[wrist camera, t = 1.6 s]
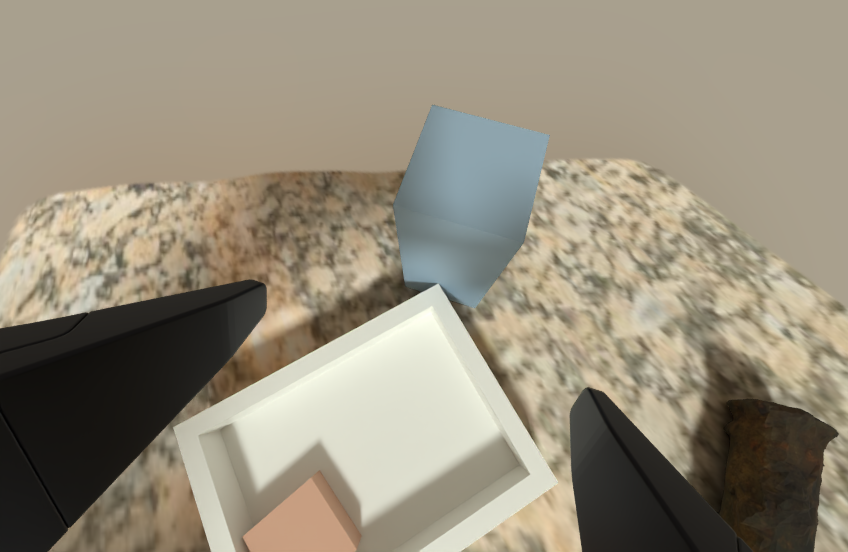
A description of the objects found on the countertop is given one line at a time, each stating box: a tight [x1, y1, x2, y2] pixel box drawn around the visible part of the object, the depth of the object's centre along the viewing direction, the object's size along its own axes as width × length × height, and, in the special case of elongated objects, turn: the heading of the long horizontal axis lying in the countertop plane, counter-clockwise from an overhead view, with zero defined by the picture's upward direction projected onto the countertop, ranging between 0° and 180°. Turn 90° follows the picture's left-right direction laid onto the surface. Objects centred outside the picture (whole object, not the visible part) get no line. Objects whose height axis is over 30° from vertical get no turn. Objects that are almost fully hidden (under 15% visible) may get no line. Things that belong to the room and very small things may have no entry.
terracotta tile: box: [243, 470, 362, 552], centre depth 17 cm, size 4×4×2 cm
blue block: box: [393, 105, 550, 308], centre depth 18 cm, size 5×5×11 cm
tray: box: [173, 283, 558, 552], centre depth 18 cm, size 16×12×3 cm
